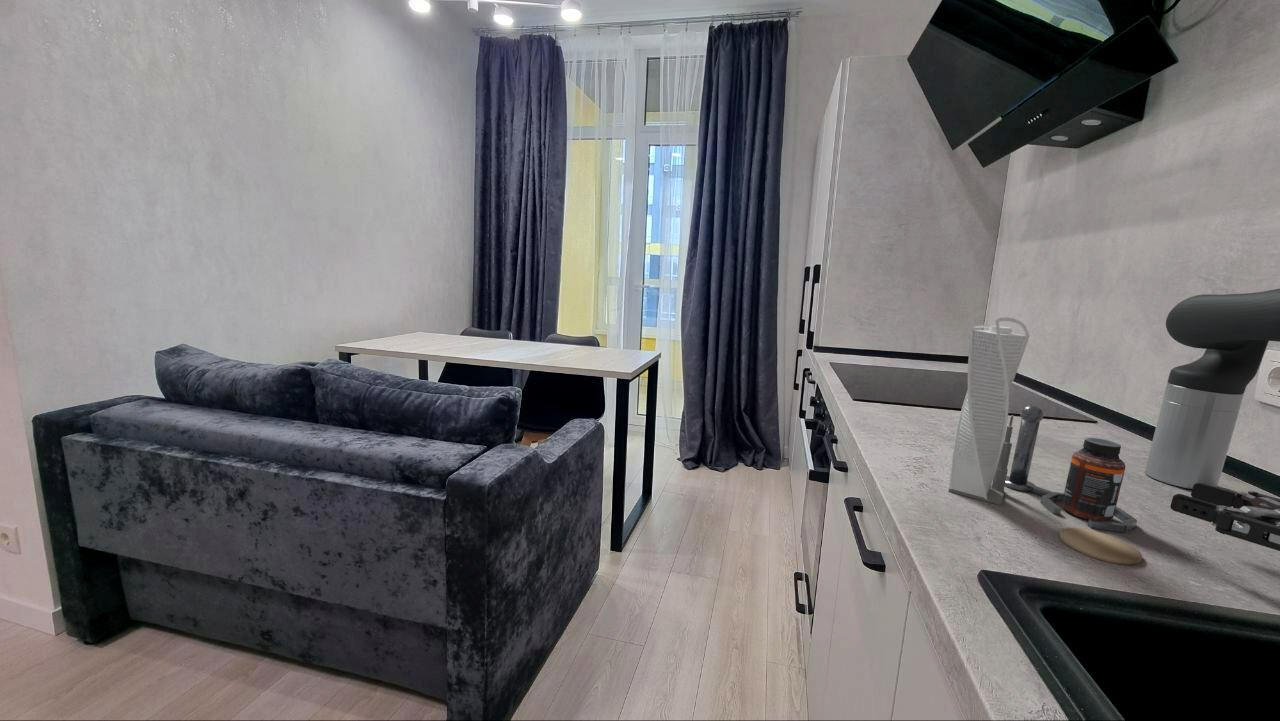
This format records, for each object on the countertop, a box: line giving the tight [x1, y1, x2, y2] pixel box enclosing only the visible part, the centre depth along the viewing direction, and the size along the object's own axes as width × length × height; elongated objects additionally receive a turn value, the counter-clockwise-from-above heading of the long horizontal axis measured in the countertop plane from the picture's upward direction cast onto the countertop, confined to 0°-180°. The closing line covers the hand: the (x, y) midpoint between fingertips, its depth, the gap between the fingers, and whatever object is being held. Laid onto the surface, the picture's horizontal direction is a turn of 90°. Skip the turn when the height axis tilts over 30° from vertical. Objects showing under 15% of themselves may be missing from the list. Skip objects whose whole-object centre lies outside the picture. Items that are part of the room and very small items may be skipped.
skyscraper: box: [948, 317, 1030, 506], centre depth 81 cm, size 8×8×28 cm
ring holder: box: [1004, 404, 1138, 534], centre depth 80 cm, size 10×18×14 cm, turn 31°
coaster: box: [1059, 527, 1143, 566], centre depth 68 cm, size 8×8×1 cm
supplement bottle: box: [1061, 437, 1126, 522], centre depth 77 cm, size 6×6×11 cm
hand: (1182, 495), depth 69 cm, fingers open, 8 cm apart
